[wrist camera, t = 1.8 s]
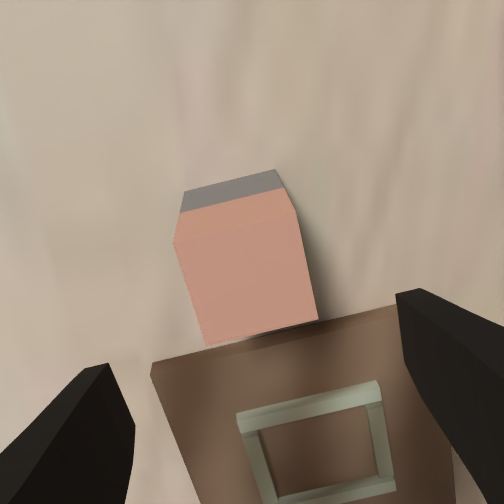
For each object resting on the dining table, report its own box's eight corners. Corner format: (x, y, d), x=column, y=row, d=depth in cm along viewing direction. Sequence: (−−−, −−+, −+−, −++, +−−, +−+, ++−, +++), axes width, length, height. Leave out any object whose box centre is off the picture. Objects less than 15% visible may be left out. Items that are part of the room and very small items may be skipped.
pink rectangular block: (274, 168, 21) (296, 212, 15) (293, 252, 22) (318, 319, 17) (184, 191, 21) (172, 242, 15) (209, 272, 22) (206, 346, 17)
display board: (428, 296, 23) (443, 312, 22) (448, 495, 29) (461, 518, 27) (152, 362, 24) (148, 383, 22) (223, 546, 29) (224, 572, 28)
